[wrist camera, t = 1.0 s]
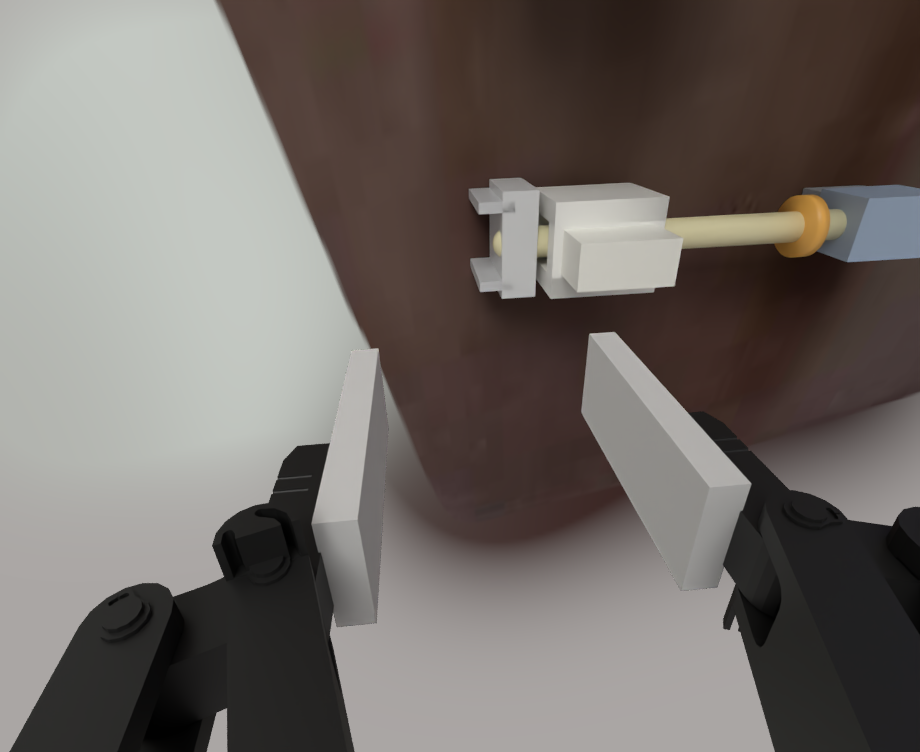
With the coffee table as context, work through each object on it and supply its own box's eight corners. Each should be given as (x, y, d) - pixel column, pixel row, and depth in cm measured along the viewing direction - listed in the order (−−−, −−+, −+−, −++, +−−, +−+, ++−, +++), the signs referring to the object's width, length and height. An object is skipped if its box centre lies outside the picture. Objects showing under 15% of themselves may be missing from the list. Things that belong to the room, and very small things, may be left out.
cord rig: (468, 180, 31) (480, 195, 26) (876, 160, 32) (962, 171, 27) (470, 274, 34) (481, 304, 28) (844, 251, 35) (917, 276, 30)
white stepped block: (533, 187, 30) (573, 214, 23) (630, 182, 30) (699, 207, 23) (530, 271, 32) (565, 319, 25) (619, 266, 33) (679, 311, 26)
